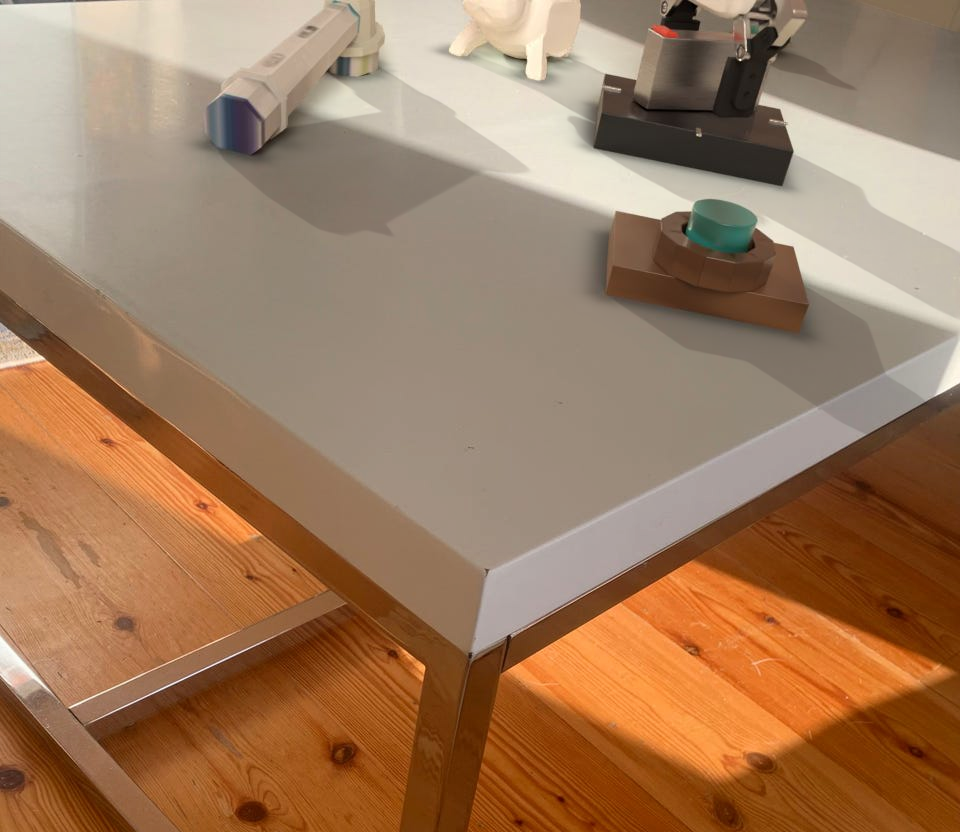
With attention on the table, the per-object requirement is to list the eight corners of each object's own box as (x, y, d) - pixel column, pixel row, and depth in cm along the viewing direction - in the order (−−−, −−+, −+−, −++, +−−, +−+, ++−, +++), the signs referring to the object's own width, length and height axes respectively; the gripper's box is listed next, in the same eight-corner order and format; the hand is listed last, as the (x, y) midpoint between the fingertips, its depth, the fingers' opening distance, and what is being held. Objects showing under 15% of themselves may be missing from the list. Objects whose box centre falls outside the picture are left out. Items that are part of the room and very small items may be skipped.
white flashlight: (190, 84, 68) (331, -47, 85) (196, 185, 72) (329, 42, 90) (272, 104, 67) (397, -31, 84) (273, 205, 72) (391, 57, 89)
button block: (782, 279, 69) (803, 218, 67) (797, 345, 62) (822, 279, 60) (607, 244, 69) (622, 181, 67) (603, 306, 62) (620, 238, 60)
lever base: (766, 134, 92) (778, 95, 90) (783, 197, 81) (798, 154, 79) (596, 100, 92) (605, 60, 90) (590, 158, 81) (600, 114, 79)
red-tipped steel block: (740, 102, 87) (761, 30, 84) (756, 112, 86) (778, 40, 83) (631, 99, 83) (649, 24, 80) (646, 109, 82) (665, 33, 78)
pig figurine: (483, 75, 102) (418, 37, 89) (513, -23, 100) (450, -78, 86) (568, 102, 100) (514, 67, 86) (600, 2, 98) (551, -50, 84)
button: (745, 235, 64) (755, 206, 63) (750, 261, 61) (760, 231, 60) (683, 223, 64) (692, 193, 63) (685, 248, 61) (694, 217, 60)
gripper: (656, -209, 78) (600, 54, 88) (807, -159, 66) (720, 137, 77) (744, -195, 81) (679, 58, 91) (903, -145, 69) (806, 138, 80)
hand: (698, 93), depth 84 cm, fingers open, 8 cm apart
